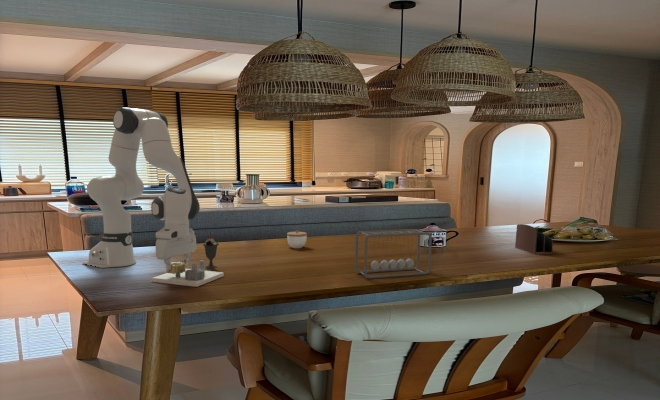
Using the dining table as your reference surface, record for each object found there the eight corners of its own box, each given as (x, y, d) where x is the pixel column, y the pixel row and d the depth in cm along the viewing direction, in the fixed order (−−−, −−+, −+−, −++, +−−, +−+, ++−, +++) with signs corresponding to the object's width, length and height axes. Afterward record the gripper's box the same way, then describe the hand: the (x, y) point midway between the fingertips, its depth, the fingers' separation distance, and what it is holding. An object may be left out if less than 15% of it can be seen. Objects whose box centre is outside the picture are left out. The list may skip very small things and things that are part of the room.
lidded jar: (283, 248, 258) (283, 230, 257) (291, 245, 268) (291, 228, 268) (302, 249, 255) (302, 231, 254) (309, 246, 265) (309, 229, 264)
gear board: (152, 281, 184) (151, 263, 184) (181, 271, 201) (181, 255, 200) (196, 286, 177) (196, 267, 177) (223, 276, 194) (223, 258, 194)
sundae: (212, 264, 215) (212, 231, 214) (222, 267, 211) (221, 232, 209) (199, 267, 210) (199, 232, 209) (209, 269, 205) (209, 234, 204)
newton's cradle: (364, 279, 191) (365, 234, 190) (354, 273, 201) (355, 231, 200) (431, 274, 201) (432, 231, 200) (418, 269, 211) (419, 228, 210)
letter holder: (534, 254, 248) (535, 227, 247) (514, 247, 268) (515, 222, 267) (552, 254, 250) (554, 227, 249) (531, 247, 269) (532, 222, 268)
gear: (164, 273, 182) (164, 265, 181) (169, 269, 188) (169, 261, 188) (182, 273, 182) (182, 266, 182) (187, 269, 189) (187, 262, 188)
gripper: (187, 227, 195) (187, 261, 197) (152, 234, 176) (152, 271, 177) (200, 228, 193) (200, 262, 194) (166, 235, 174) (167, 273, 175)
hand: (177, 266), depth 186 cm, fingers open, 8 cm apart
